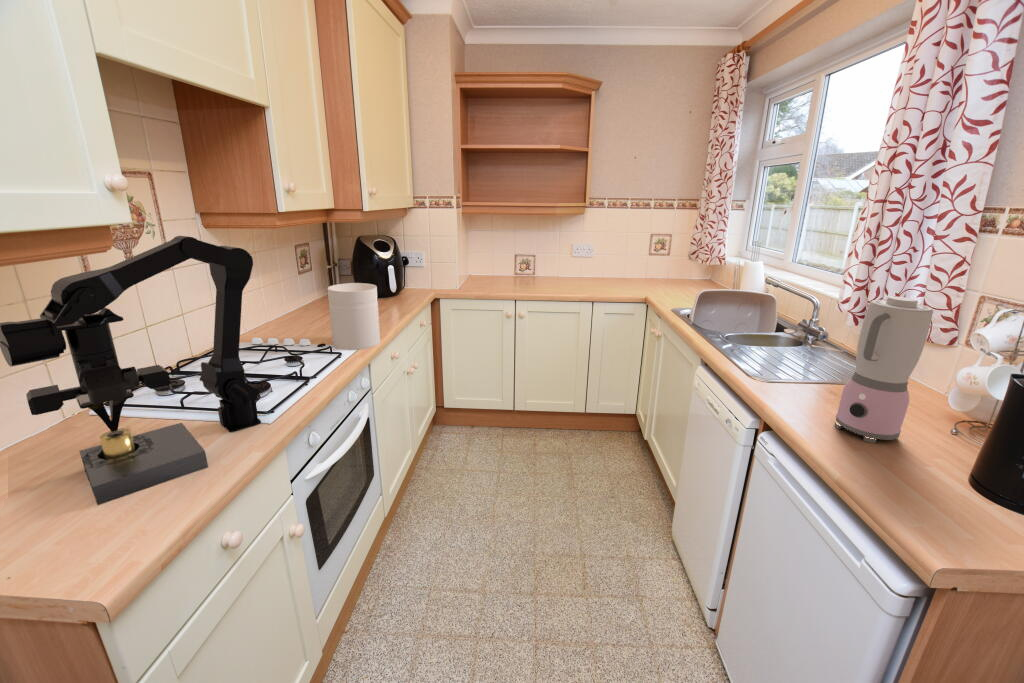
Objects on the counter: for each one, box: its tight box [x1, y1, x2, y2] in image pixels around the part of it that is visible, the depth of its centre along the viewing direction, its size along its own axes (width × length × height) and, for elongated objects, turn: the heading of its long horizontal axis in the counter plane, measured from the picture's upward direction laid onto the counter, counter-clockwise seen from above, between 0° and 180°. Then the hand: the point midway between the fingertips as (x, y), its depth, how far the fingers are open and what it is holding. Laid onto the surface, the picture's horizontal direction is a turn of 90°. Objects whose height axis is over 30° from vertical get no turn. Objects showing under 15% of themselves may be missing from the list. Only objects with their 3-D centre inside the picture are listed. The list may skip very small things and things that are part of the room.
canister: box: [327, 282, 381, 351], centre depth 160 cm, size 16×16×20 cm
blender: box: [834, 295, 934, 444], centre depth 103 cm, size 16×12×32 cm
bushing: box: [99, 427, 136, 460], centre depth 86 cm, size 4×4×7 cm
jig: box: [79, 422, 209, 506], centre depth 86 cm, size 16×16×4 cm
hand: (114, 430), depth 84 cm, fingers closed
